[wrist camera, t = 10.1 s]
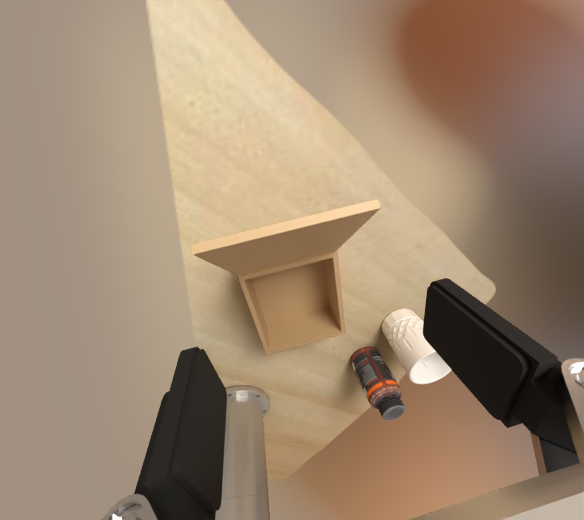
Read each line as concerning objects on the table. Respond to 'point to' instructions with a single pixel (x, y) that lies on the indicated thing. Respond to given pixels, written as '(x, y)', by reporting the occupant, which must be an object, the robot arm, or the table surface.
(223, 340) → the table surface
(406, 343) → the white cup
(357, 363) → the supplement bottle
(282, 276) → the carton
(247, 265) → the cardboard box lid
